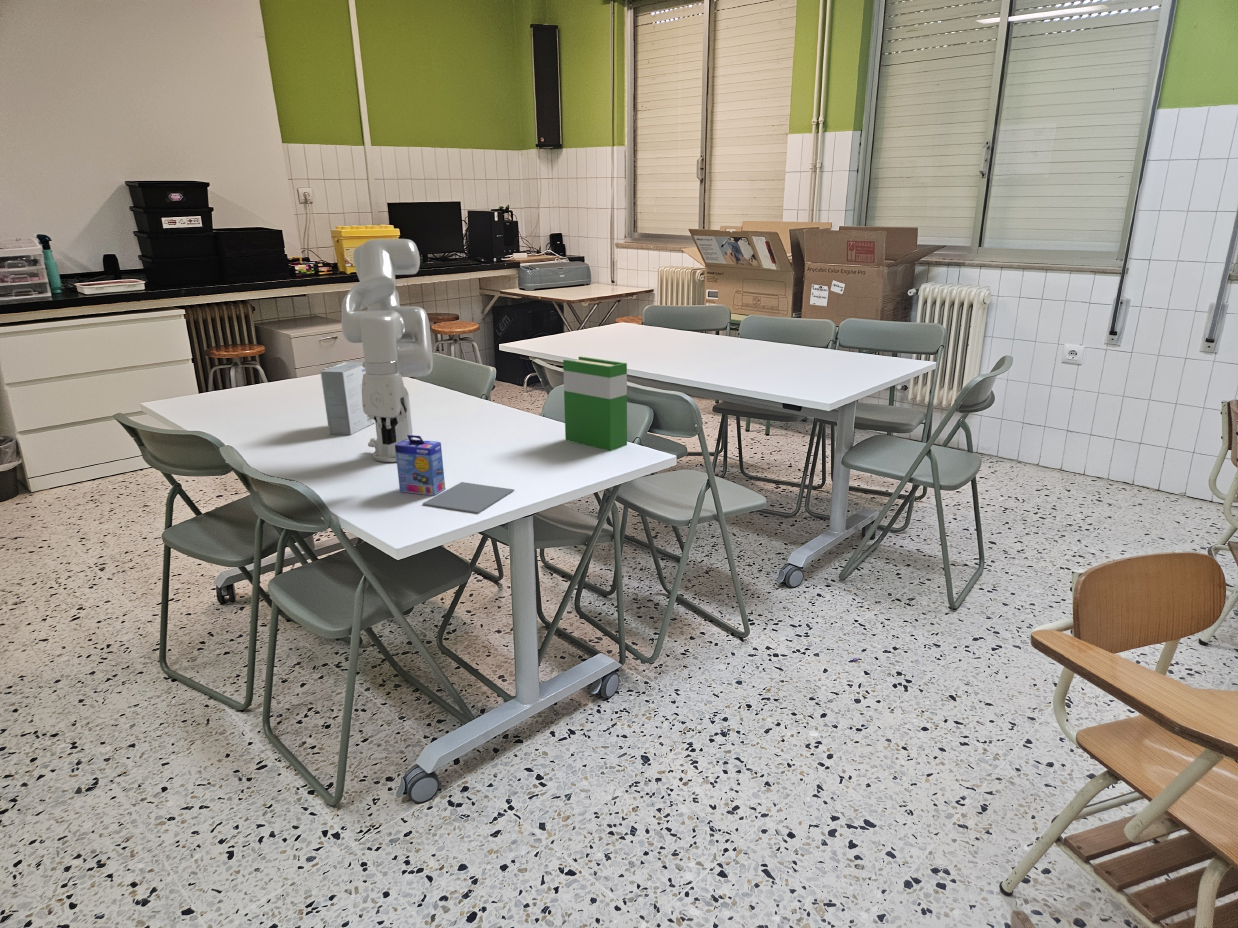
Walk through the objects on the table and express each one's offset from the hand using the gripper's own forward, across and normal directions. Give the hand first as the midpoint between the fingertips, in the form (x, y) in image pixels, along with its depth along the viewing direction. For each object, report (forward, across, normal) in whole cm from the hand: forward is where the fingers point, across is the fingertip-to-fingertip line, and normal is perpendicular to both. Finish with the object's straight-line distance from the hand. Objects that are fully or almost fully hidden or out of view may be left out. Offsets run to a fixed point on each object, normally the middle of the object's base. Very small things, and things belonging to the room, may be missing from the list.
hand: (389, 443), depth 184 cm
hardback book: (+11, +30, +54) cm, 63 cm away
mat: (+11, +22, 0) cm, 24 cm away
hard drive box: (+11, -48, +40) cm, 63 cm away
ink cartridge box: (+12, +8, 0) cm, 14 cm away
